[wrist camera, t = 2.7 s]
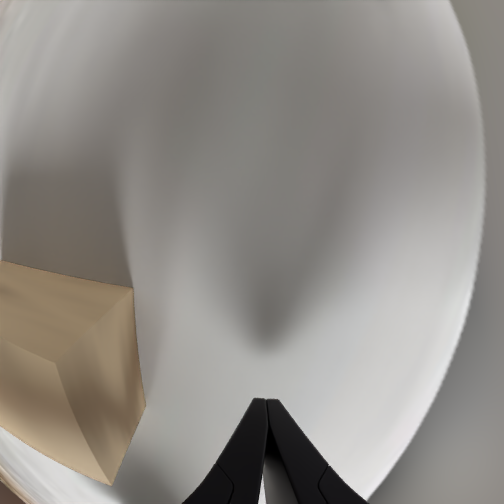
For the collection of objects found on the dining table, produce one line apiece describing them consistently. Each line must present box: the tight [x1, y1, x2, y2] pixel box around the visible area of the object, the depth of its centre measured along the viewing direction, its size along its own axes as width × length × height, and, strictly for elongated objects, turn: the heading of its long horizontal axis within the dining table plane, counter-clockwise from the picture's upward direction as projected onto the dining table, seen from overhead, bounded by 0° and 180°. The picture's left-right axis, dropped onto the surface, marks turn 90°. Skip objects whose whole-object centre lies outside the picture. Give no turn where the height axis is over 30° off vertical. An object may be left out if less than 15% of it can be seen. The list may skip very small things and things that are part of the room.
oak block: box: [0, 260, 146, 486], centre depth 7 cm, size 6×8×5 cm
